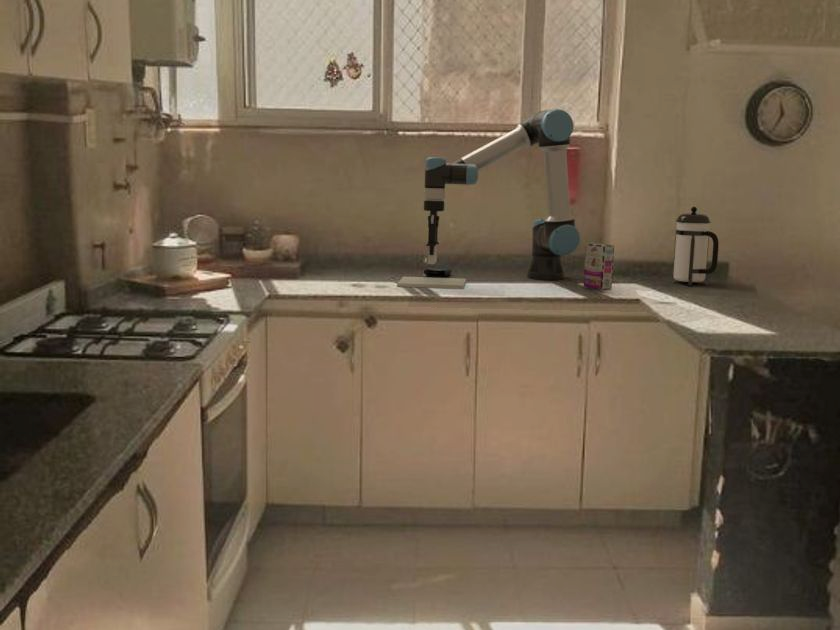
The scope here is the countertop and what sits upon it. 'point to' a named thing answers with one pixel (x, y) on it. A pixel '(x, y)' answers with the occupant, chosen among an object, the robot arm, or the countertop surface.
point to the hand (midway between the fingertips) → (432, 262)
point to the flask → (437, 272)
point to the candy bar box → (598, 266)
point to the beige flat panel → (432, 282)
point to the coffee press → (693, 248)
